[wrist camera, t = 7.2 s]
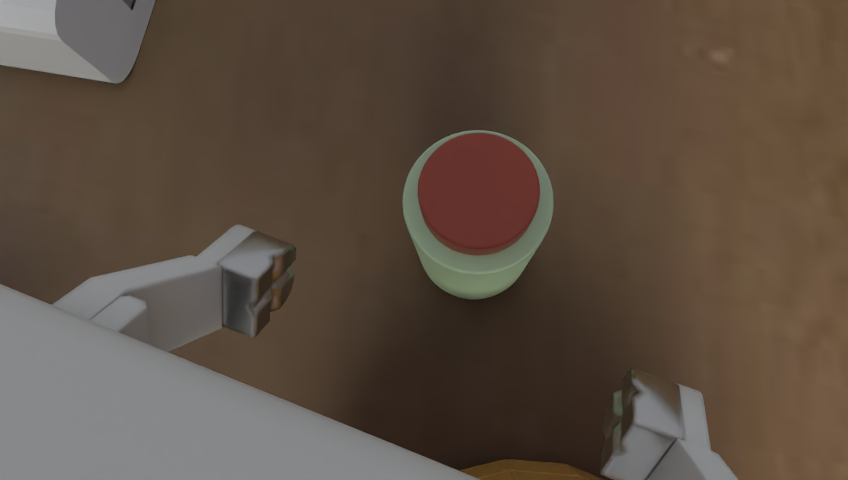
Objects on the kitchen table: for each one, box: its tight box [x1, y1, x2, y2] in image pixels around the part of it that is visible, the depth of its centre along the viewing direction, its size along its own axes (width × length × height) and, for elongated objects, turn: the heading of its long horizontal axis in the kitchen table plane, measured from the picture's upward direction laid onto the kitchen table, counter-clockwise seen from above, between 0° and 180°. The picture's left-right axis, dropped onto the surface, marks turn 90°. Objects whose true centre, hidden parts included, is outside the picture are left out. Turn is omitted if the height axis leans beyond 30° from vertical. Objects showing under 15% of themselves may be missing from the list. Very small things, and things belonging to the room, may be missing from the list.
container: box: [403, 130, 554, 299], centre depth 18 cm, size 4×4×7 cm
